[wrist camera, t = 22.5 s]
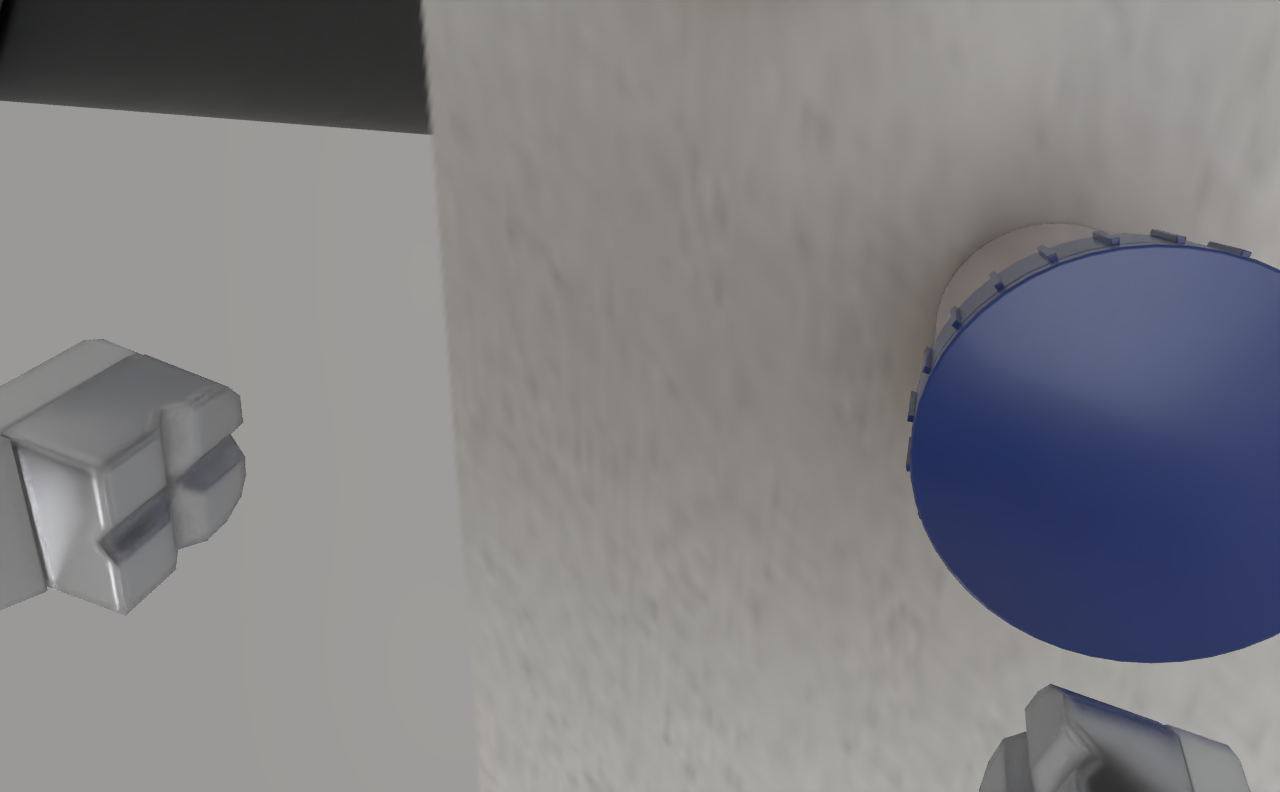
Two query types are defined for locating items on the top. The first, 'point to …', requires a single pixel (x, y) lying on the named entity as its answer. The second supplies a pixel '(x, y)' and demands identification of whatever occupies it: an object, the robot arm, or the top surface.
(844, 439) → the top surface
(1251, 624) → the jar lid
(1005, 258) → the jar
